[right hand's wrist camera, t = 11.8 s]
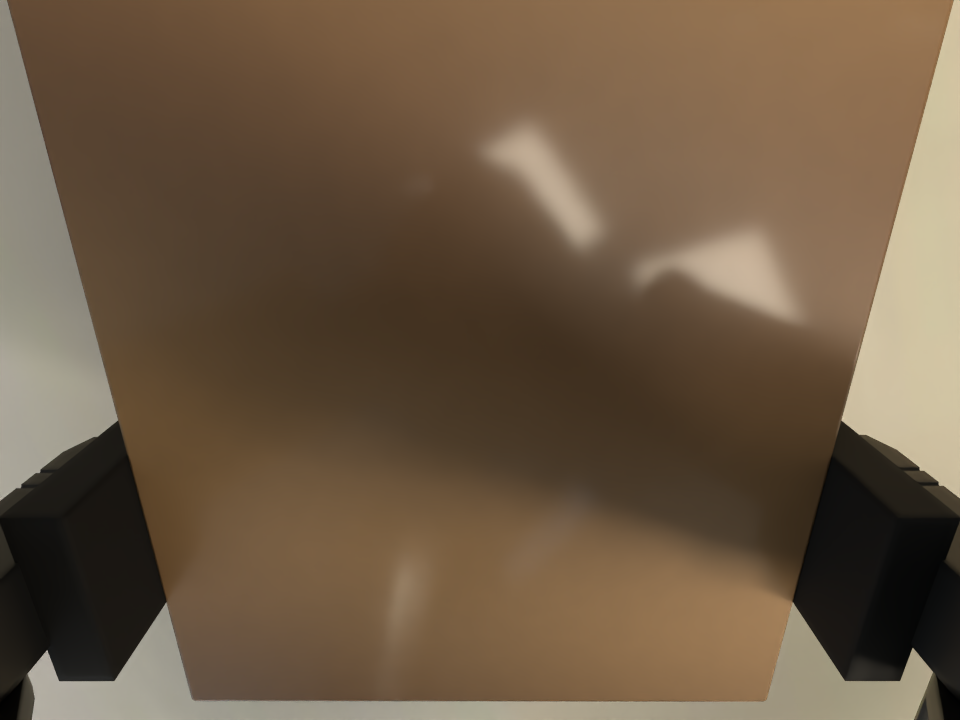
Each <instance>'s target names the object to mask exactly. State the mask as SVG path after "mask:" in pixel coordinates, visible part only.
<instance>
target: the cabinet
mask: <svg viewBox="0 0 960 720" xmlns="http://www.w3.org/2000/svg"><path fill="white" fill-rule="evenodd" d="M7 1H8V5H9V9H10V13H11V17H12V20H13V24H14V28H15V32H16V35H17V39H18V43H19V47H20V51H21V54H22V58H23V62H24V66H25V70H26V73H27V77H28V81H29V85H30V88H31V92H32V96H33V100H34V104H35V107H36V111H37V115H38V119H39V122H40V126H41V130H42V134H43V138H44V141H45V145H46V149H47V153H48V156H49V160H50V164H51V168H52V172H53V175H54V179H55V183H56V187H57V190H58V194H59V198H60V202H61V206H62V209H63V213H64V217H65V221H66V224H67V228H68V232H69V236H70V240H71V243H72V247H73V251H74V255H75V258H76V262H77V266H78V270H79V274H80V277H81V281H82V285H83V289H84V292H85V296H86V300H87V304H88V308H89V311H90V315H91V319H92V323H93V326H94V330H95V334H96V338H97V342H98V345H99V349H100V353H101V357H102V360H103V364H104V368H105V372H106V376H107V379H108V383H109V387H110V391H111V394H112V398H113V402H114V406H115V410H116V413H117V417H118V421H119V425H120V428H121V432H122V436H123V440H124V444H125V447H126V451H127V455H128V459H129V462H130V466H131V470H132V474H133V478H134V481H135V485H136V489H137V493H138V496H139V500H140V504H141V508H142V512H143V515H144V519H145V523H146V527H147V531H148V534H149V538H150V542H151V546H152V549H153V553H154V557H155V561H156V565H157V568H158V572H159V576H160V580H161V583H162V587H163V591H164V595H165V599H166V602H167V606H168V610H169V614H170V617H171V621H172V625H173V629H174V633H175V636H176V640H177V644H178V648H179V651H180V655H181V659H182V663H183V667H184V670H185V674H186V678H187V682H188V685H189V689H190V693H191V697H192V699H193V700H195V701H765V700H766V699H767V696H768V692H769V688H770V685H771V681H772V677H773V673H774V670H775V666H776V662H777V658H778V655H779V651H780V647H781V643H782V640H783V636H784V632H785V629H786V625H787V621H788V617H789V614H790V610H791V606H792V602H793V599H794V595H795V591H796V587H797V584H798V580H799V576H800V573H801V569H802V565H803V561H804V558H805V554H806V550H807V546H808V543H809V539H810V535H811V531H812V528H813V524H814V520H815V516H816V513H817V509H818V505H819V502H820V498H821V494H822V490H823V487H824V483H825V479H826V475H827V472H828V468H829V464H830V460H831V457H832V453H833V449H834V445H835V442H836V438H837V434H838V431H839V427H840V423H841V419H842V416H843V412H844V408H845V404H846V401H847V397H848V393H849V389H850V386H851V382H852V378H853V374H854V371H855V367H856V363H857V360H858V356H859V352H860V348H861V345H862V341H863V337H864V333H865V330H866V326H867V322H868V318H869V315H870V311H871V307H872V304H873V300H874V296H875V292H876V289H877V285H878V281H879V277H880V274H881V270H882V266H883V262H884V259H885V255H886V251H887V247H888V244H889V240H890V236H891V233H892V229H893V225H894V221H895V218H896V214H897V210H898V206H899V203H900V199H901V195H902V191H903V188H904V184H905V180H906V176H907V173H908V169H909V165H910V162H911V158H912V154H913V150H914V147H915V143H916V139H917V135H918V132H919V128H920V124H921V120H922V117H923V113H924V109H925V106H926V102H927V98H928V94H929V91H930V87H931V83H932V79H933V76H934V72H935V68H936V64H937V61H938V57H939V53H940V49H941V46H942V42H943V38H944V35H945V31H946V27H947V23H948V20H949V16H950V12H951V8H952V5H953V1H954V0H7Z"/></svg>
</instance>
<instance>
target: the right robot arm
mask: <svg viewBox="0 0 960 720" xmlns="http://www.w3.org/2000/svg"><path fill="white" fill-rule="evenodd" d="M21 485H22V487H21V488H16V489H15V490H14V491H12V492H11V493H10V494H9V495H7V496H6V497H5V498H3V499H2V500H1V501H0V720H32V713H33V706H34V699H35V698H34V692H33V687H32V684H31V681H30V679H29V677H28V672H29V671H30V670H31V669H32V667H33V666H34V665H35V664H36V663H37V661H38V660H39V659H40V658H41V657H42V655H43V654H44V653H45V652H46V651H47V650H48V653H49V655H50V658H51V660H52V663H53V666H54V668H55V671H56V674H57V676H58V679H59V681H115V679H116V678H117V676H118V674H119V673H120V671H121V670H122V668H123V667H124V665H125V664H126V662H127V661H128V659H129V658H130V656H131V655H132V653H133V652H134V650H135V649H136V647H137V646H138V644H139V643H140V641H141V640H142V638H143V637H144V635H145V634H146V632H147V631H148V629H149V628H150V626H151V625H152V623H153V621H154V620H155V618H156V617H157V615H158V614H159V612H160V611H161V609H162V608H163V606H164V605H165V603H166V599H165V595H164V591H163V587H162V583H161V580H160V576H159V572H158V568H157V565H156V561H155V557H154V553H153V549H152V546H151V542H150V538H149V534H148V531H147V527H146V523H145V519H144V515H143V512H142V508H141V504H140V500H139V496H138V493H137V489H136V485H135V481H134V478H133V474H132V470H131V466H130V462H129V459H128V455H127V451H126V447H125V444H124V440H123V436H122V432H121V428H120V425H119V421H117V422H116V423H114V424H113V425H112V426H111V427H109V428H108V429H107V430H106V431H105V432H103V433H102V434H101V435H100V436H98V437H93V438H91V439H89V440H87V441H85V442H83V443H81V444H79V445H77V446H75V447H73V448H71V449H68V450H66V451H64V452H63V453H61V454H60V455H59V456H57V457H56V458H55V459H54V460H52V461H51V462H50V463H48V464H47V465H46V466H45V467H43V468H42V469H41V472H40V473H36V474H34V475H33V476H32V477H30V478H29V479H28V480H27V481H25V482H24V483H23V484H21ZM793 603H794V604H795V606H796V607H797V609H798V610H799V612H800V613H801V615H802V616H803V618H804V619H805V621H806V622H807V624H808V625H809V627H810V628H811V630H812V632H813V633H814V635H815V636H816V638H817V639H818V641H819V642H820V644H821V645H822V647H823V648H824V650H825V651H826V653H827V654H828V656H829V657H830V659H831V660H832V662H833V663H834V665H835V666H836V668H837V669H838V671H839V672H840V674H841V675H842V677H843V678H844V680H845V681H900V680H901V677H902V674H903V672H904V669H905V666H906V664H907V661H908V658H909V656H910V653H911V650H912V648H914V649H915V651H916V652H917V653H918V654H919V655H920V657H921V658H922V659H923V660H924V661H925V663H926V664H927V665H928V666H929V667H930V668H931V670H932V671H933V674H932V677H931V679H930V681H929V684H928V686H927V689H926V691H925V694H924V696H923V699H922V701H921V704H920V706H919V709H918V711H917V714H916V716H915V719H914V720H960V498H958V497H957V496H956V495H954V494H953V493H952V492H951V491H949V490H948V489H947V488H945V487H944V486H939V484H938V481H936V480H935V479H934V478H932V477H931V476H930V475H929V474H927V473H926V472H925V471H920V470H919V467H918V466H917V465H916V464H914V463H913V462H912V461H910V460H909V459H908V458H907V457H905V456H904V455H903V454H901V453H900V452H899V451H898V450H896V449H894V448H892V447H890V446H888V445H886V444H883V443H881V442H879V441H877V440H875V439H873V438H871V437H869V436H867V435H858V434H857V433H856V432H855V431H854V430H852V429H851V428H850V427H849V426H847V425H846V424H845V423H844V422H842V421H841V423H840V427H839V431H838V434H837V438H836V442H835V445H834V449H833V453H832V457H831V460H830V464H829V468H828V472H827V475H826V479H825V483H824V487H823V490H822V494H821V498H820V502H819V505H818V509H817V513H816V516H815V520H814V524H813V528H812V531H811V535H810V539H809V543H808V546H807V550H806V554H805V558H804V561H803V565H802V569H801V573H800V576H799V580H798V584H797V587H796V591H795V595H794V599H793Z"/></svg>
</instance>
